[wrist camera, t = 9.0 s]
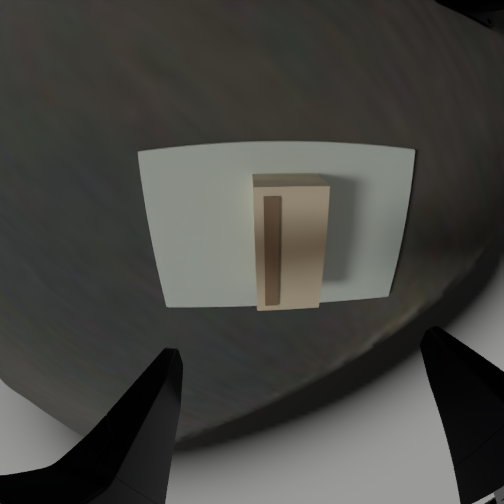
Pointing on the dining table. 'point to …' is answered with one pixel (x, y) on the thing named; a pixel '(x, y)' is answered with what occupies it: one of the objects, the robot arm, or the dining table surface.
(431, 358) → the robot arm
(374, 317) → the dining table surface
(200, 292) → the sage mat
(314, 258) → the grooved tan block
